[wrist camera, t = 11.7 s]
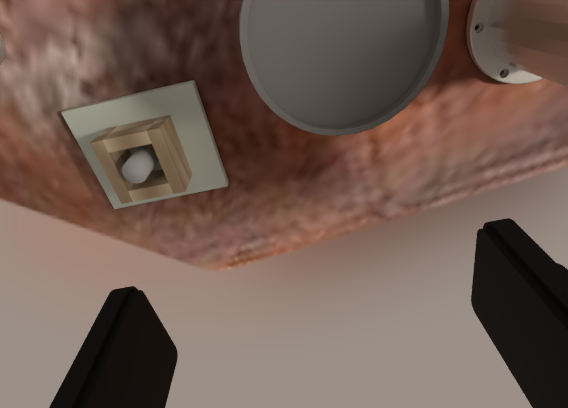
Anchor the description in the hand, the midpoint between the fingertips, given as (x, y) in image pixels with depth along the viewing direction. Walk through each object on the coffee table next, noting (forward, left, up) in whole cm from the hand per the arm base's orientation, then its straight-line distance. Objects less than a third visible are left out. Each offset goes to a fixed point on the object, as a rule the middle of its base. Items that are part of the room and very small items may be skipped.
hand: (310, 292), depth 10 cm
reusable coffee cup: (-4, -4, -31) cm, 31 cm away
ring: (+16, +5, -29) cm, 34 cm away
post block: (+16, +5, -30) cm, 35 cm away
